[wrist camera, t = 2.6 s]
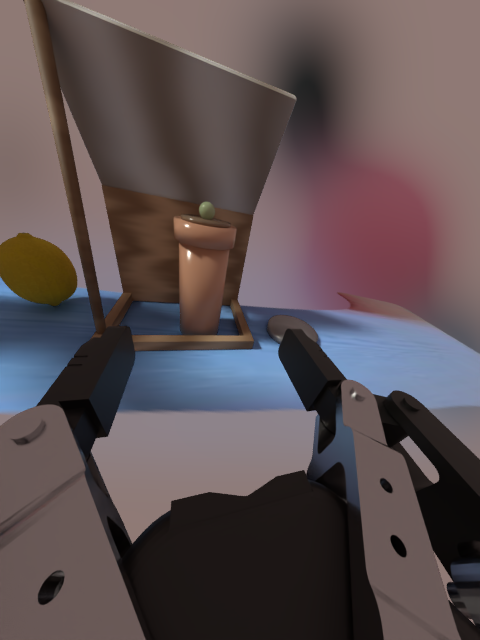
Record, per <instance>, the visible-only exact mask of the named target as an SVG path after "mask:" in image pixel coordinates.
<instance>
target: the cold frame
mask: <svg viewBox="0 0 480 640" xmlns="http://www.w3.org/2000/svg"><path fill="white" fill-rule="evenodd" d="M23 1H24V3H25V6H26V11H27V15H28V20H29V24H30V29H31V34H32V38H33V43H34V47H35V52H36V57H37V61H38V65H39V71H40V75H41V79H42V84H43V89H44V94H45V98H46V103H47V107H48V112H49V116H50V121H51V126H52V130H53V135H54V139H55V144H56V149H57V153H58V158H59V161H60V167H61V172H62V176H63V181H64V185H65V190H66V194H67V198H68V203H69V208H70V213H71V217H72V222H73V227H74V231H75V235H76V240H77V245H78V249H79V254H80V258H81V263H82V268H83V272H84V277H85V281H86V286H87V291H88V296H89V300H90V305H91V309H92V314H93V318H94V323H95V328H96V332H95V333H94V335H93V336H92V338H93V337H101V336H102V334H103V333H104V331H105V330H106V328H107V327H108V326H119V325H120V323H121V321H122V319H123V318H124V316H125V314H126V312H127V310H128V309H129V307H130V305H131V303H132V302H133V301H149V302H168V303H179V241H177V240H176V239H175V238H174V216H181V214H194V215H200V213H199V207H200V205H201V204H202V203H203V202H210V203H211V204H212V205H213V206H214V208H215V215H214V217H213V218H216V219H220V220H224V221H227V222H229V223H231V225H232V226H234V227H236V228H237V230H236V237H235V244H234V248H232V249H229V256H228V264H227V271H226V278H225V285H224V292H223V300H222V305H227V306H230V307H231V310H232V313H233V316H234V319H235V323H236V326H237V329H238V332H239V335H240V336H223V335H132V339H133V344H134V349H135V351H151V350H211V349H252V347H253V343H254V340H253V337H252V335H251V332H250V330H249V327H248V325H247V322H246V320H245V317H244V315H243V312H242V310H241V307H240V305H239V303H238V300H237V299H238V293H239V288H240V283H241V278H242V272H243V267H244V262H245V257H246V252H247V246H248V241H249V236H250V231H251V225H252V220H253V214H254V212H255V209H256V206H257V203H258V201H259V198H260V196H261V193H262V190H263V188H264V185H265V182H266V179H267V177H268V174H269V172H270V169H271V166H272V164H273V161H274V158H275V156H276V153H277V150H278V148H279V145H280V142H281V139H282V137H283V134H284V132H285V129H286V126H287V124H288V121H289V118H290V116H291V113H292V110H293V108H294V104H295V102H296V97H295V95H292V94H290V93H288V92H285V91H283V90H281V89H278V88H276V87H273V86H271V85H269V84H266V83H264V82H261V81H259V80H257V79H254V78H252V77H250V76H247V75H245V74H242V73H240V72H238V71H235V70H233V69H230V68H228V67H226V66H223V65H221V64H219V63H216V62H214V61H211V60H209V59H207V58H204V57H202V56H200V55H197V54H195V53H193V52H190V51H188V50H185V49H183V48H181V47H178V46H176V45H174V44H171V43H169V42H166V41H164V40H162V39H159V38H157V37H155V36H152V35H150V34H147V33H145V32H143V31H140V30H138V29H135V28H133V27H131V26H128V25H125V24H124V23H121V22H119V21H116V20H114V19H112V18H109V17H107V16H104V15H102V14H100V13H97V12H95V11H93V10H90V9H88V8H85V7H83V6H81V5H78V4H76V3H74V2H71V1H69V0H23ZM60 87H61V88H60ZM61 90H62V92H63V94H64V97H65V99H66V101H67V104H68V106H69V108H70V111H71V113H72V115H73V118H74V120H75V123H76V125H77V127H78V130H79V132H80V134H81V137H82V139H83V141H84V144H85V146H86V148H87V150H88V153H89V155H90V158H91V160H92V162H93V165H94V167H95V169H96V171H97V174H98V176H99V179H100V181H101V183H102V189H103V194H104V199H105V204H106V209H107V214H108V219H109V224H110V229H111V234H112V238H113V244H114V248H115V254H116V258H117V263H118V268H119V273H120V278H121V283H122V288H123V294H122V295H121V297H120V298H119V299H118V301H117V302H116V304H115V305H114V306H113V308H112V309H111V311H110V312H109V314H108V315H107V316H106V318H105V319H104V314H103V309H102V303H101V298H100V293H99V288H98V283H97V277H96V272H95V266H94V261H93V257H92V251H91V246H90V240H89V235H88V230H87V225H86V219H85V214H84V209H83V203H82V198H81V193H80V188H79V182H78V178H77V172H76V167H75V162H74V156H73V151H72V146H71V140H70V135H69V130H68V124H67V119H66V114H65V109H64V103H63V98H62V93H61ZM92 338H91V339H92Z"/></svg>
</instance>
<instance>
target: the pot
mask: <svg viewBox="0 0 480 640" xmlns="http://www.w3.org/2000/svg"><path fill="white" fill-rule="evenodd" d="M199 213H200V215H194V214H181V216H174V238H175V239H176V240H177V241H179V304H180V331H181V333H182V334H183V335H216V334H217V333H218V328H219V321H220V314H221V307H222V300H223V292H224V285H225V278H226V271H227V264H228V256H229V249H232V248H234V244H235V237H236V230H237V228H236V227H234V226H232V225H231V223H229V222H227V221H224V220H220V219H216V218H213V217H214V215H215V208H214V206H213V205H212V204H211V203H210V202H203V203H202V204H201V205H200V207H199Z"/></svg>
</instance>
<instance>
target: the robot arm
mask: <svg viewBox="0 0 480 640" xmlns="http://www.w3.org/2000/svg"><path fill="white" fill-rule="evenodd" d="M278 355H279V358H280V361H281V362H282V364H283V366H284V368H285V370H286V372H287V374H288V376H289V378H290V380H291V382H292V384H293V386H294V387H295V389H296V391H297V393H298V395H299V397H300V399H301V401H302V403H303V405H304V407H305V409H306V411H314V410H316V411H317V413H318V415H317V416H316V422H315V433H314V444H313V455H312V460H311V462H310V465H309V467H308V470H307V474H305V471H304V470H303V471H298V472H294V473H290V474H285V475H281V476H277V477H275V478H274V479H272V480H271V481H269V482H268V483H266V484H265V485H264V486H262V487H261V488H259V489H258V490H256V491H254V492H253V493H252V494H250V495H248V496H237V495H228V494H220V493H212V492H208V493H204V494H199V495H195V496H191V497H187V498H182V499H178V500H174V501H172V502H171V510H170V511H168V512H167V513H166V514H164V515H162V516H161V517H159V518H158V519H157V520H156V521H154V522H153V523H152V524H151V525H150V526H149V527H148V528H147V529H146V530H145V531H144V532H143V533H142V534H141V535H140V536H139V537H138V538H137V539H136V541H135V542H134V543H133V544H132V542H131V540H130V537H129V535H128V533H127V530H126V529H125V526H124V523H123V521H122V519H121V517H120V515H119V513H118V511H117V509H116V507H115V505H114V504H113V502H112V499H111V497H110V495H109V493H108V490H107V488H106V486H105V483H104V481H103V479H102V476H101V474H100V472H99V469H98V467H97V465H96V462H95V460H94V457H93V455H92V453H91V449H92V446H93V444H94V441H95V439H96V438H100V437H107V436H108V434H109V432H110V429H111V426H112V423H113V420H114V418H115V415H116V412H117V409H118V407H119V404H120V401H121V398H122V395H123V393H124V390H125V387H126V384H127V381H128V379H129V376H130V373H131V370H132V367H133V365H134V361H135V349H134V344H133V339H132V335H131V330H130V327H129V326H108V327H107V328H106V330H105V331H104V333H103V334H102V336H101V337H93V338H92V339H90V340H89V341H88V342H86V343H85V344H83V345H82V346H81V347H80V348H79V350H78V351H77V352H76V354H75V355H74V358H72V359H71V360H70V362H69V363H68V364H67V367H65V368H64V370H63V371H62V372H61V374H60V375H59V376H58V378H57V379H56V380H55V382H54V383H53V384H52V386H51V387H50V388H49V390H48V391H47V392H46V394H45V395H44V396H43V398H42V399H41V401H40V402H39V403H38V404H37V406H36V407H33V408H30V409H28V410H25V411H23V412H21V413H19V414H17V415H15V416H14V417H12V418H11V419H9V420H8V421H6V422H5V423H4V424H2V425H1V426H0V640H480V460H479V458H477V456H475V455H474V454H473V453H472V452H471V451H470V450H469V449H468V448H467V447H466V446H465V445H464V444H463V443H462V442H461V441H460V440H459V439H458V438H457V437H456V436H455V435H454V434H453V433H452V432H451V431H450V430H449V429H447V428H446V427H445V426H444V425H443V424H442V423H441V422H440V421H439V420H438V419H437V418H436V417H435V416H434V415H433V414H432V413H431V412H430V411H429V410H428V409H427V408H426V407H425V406H424V405H423V404H421V403H420V402H419V401H418V400H417V399H415V398H414V397H412V396H411V395H409V394H407V393H404V392H402V391H393V392H392V393H391V394H390V395H388V396H387V397H383V396H379V395H374V394H372V393H371V392H370V391H369V390H368V389H367V388H366V387H365V386H363V385H362V384H360V383H358V382H356V381H353V380H347V379H346V378H345V377H344V375H343V374H342V373H341V372H340V371H339V369H338V368H337V367H336V366H335V365H334V363H333V362H332V361H331V360H330V358H329V357H327V355H326V354H325V352H323V350H322V349H321V348H320V346H319V345H318V344H317V343H316V342H315V341H313V340H312V339H311V338H309V337H308V336H307V335H306V334H305V332H304V331H303V330H302V329H287V330H286V331H285V334H284V336H283V339H282V341H281V344H280V347H279V350H278ZM407 436H409V437H410V438H411V439H412V440H413V441H414V443H415V444H416V445H417V446H418V447H419V448H420V450H421V451H422V452H423V453H424V454H425V455H426V457H427V458H428V459H429V460H430V461H431V463H432V464H433V465H434V466H435V468H436V469H437V471H438V473H439V481H438V482H437V483H435V484H433V483H432V482H431V481H429V479H428V478H427V477H426V476H425V475H424V473H423V472H422V471H421V469H420V468H419V467H418V466H417V464H416V463H415V462H414V460H413V459H412V458H411V457H410V455H409V454H408V453H407V452H406V450H405V449H404V448H403V446H402V445H401V444H400V443H399V442H400V441H402V440H403V439H404V438H406V437H407ZM433 551H434V552H435V554H436V555H437V557H438V558H439V560H440V561H441V563H442V564H443V566H444V568H445V569H446V571H447V572H448V574H449V575H450V577H451V579H452V580H453V582H449V583H448V584H447V591H448V594H449V597H450V599H451V601H452V602H453V604H454V605H455V606H454V605H453V604H452V603H451V602H450V601H449V600H448V598H447V595H446V592H445V589H444V585H443V582H442V579H441V576H440V572H439V569H438V566H437V563H436V559H435V556H434V552H433ZM469 619H473V621H474V624H475V625H474V624H473V623H472V622H471V621H470V620H469Z"/></svg>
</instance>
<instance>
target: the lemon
mask: <svg viewBox="0 0 480 640" xmlns="http://www.w3.org/2000/svg"><path fill="white" fill-rule="evenodd" d="M0 276H1V278H2V280H3V281H4V283H5V284H6V285H7V286H8V287H9V288H10V289H11V290H12V291H13V292H14V293H15V294H17V295H18V296H20V297H22V298H24V299H26V300H28V301H31V302H35V303H40V304H49V305H52V306H57V305H59V304H60V303H61V302H62V301H64V300H66V299H68V298H69V297H71V296H72V295H73V293H74V292H75V290H76V288H77V275H76V271H75V269H74V266H73V265H72V263H71V261H70V260H69V258H68V257H67V256H66V254H65V253H64V252H63V251H62V250H61V249H59V248H58V247H57V246H55V245H54V244H52V243H50V242H48V241H45V240H43V239H40V238H36V237H33V236H32V235H30V234H29V233H19V234H18V235H17V236H16V237H13V238H11V239H8V240H7V241H5V242H3V243H2V244H1V245H0Z"/></svg>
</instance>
